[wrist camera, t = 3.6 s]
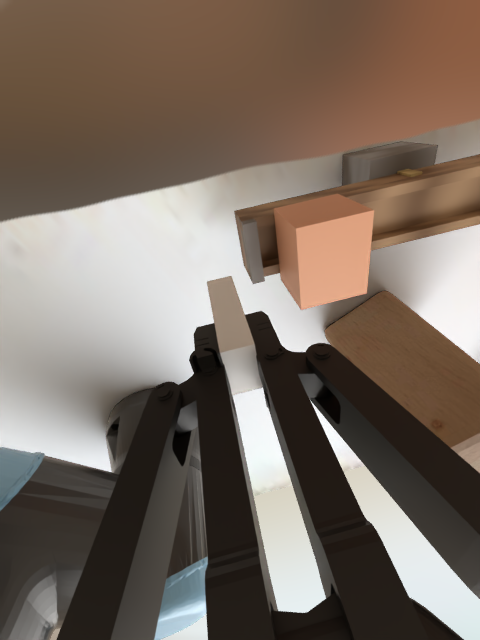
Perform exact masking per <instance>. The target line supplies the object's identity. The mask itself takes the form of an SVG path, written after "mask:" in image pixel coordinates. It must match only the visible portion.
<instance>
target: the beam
mask: <svg viewBox="0 0 480 640" xmlns="http://www.w3.org/2000/svg"><path fill="white" fill-rule="evenodd" d="M437 147H438V145H429V144H419V143H409V142H398V143H393V144H389V145H384V146H380V147H375V148H371V149H366V150H362V151H358V152H353V153H349V154H344V155H343V169H342V186H340V187H336V188H332V189H327V190H323V191H319V192H314V193H310V194H306V195H301V196H297V197H293V198H288V199H284V200H280V201H275V202H271V203H267V204H262V205H258V206H254V207H249V208H245V209H241V210H236V211H234V212H235V218H236V224H237V229H238V235H239V240H240V246H241V251H242V257H243V263H244V266H245V268H246V270H247V272H248V274H249V276H250V279H251V281H252V283H253V284H255V283H259V282H263V281H265V280H264V276H268V275H272V274H277V273H280V266H279V257H278V247H277V237H276V228H275V218H274V208H278V207H282V206H286V205H290V204H295V203H299V202H303V201H308V200H312V199H316V198H321V197H325V196H329V195H334V194H340V195H342V196H344V197H346V198H349V199H351V200H353V201H355V202H357V203H360V204H362V205H364V206H366V207H368V208H371V209H373V210H374V218H373V230H372V241H371V250H375V249H379V248H383V247H388V246H392V245H396V244H400V243H404V242H408V241H412V240H416V239H420V238H424V237H429V236H433V235H437V234H441V233H445V232H449V231H453V230H457V229H461V228H466V227H470V226H474V225H478V224H480V154H479V155H475V156H470V157H466V158H462V159H457V160H453V161H449V162H444V163H440V164H436V165H434V163H435V158H436V152H437Z"/></svg>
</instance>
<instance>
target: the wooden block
mask: <svg viewBox="0 0 480 640" xmlns="http://www.w3.org/2000/svg"><path fill="white" fill-rule="evenodd" d="M325 336H326V339H327V340H328V342H329V343H330V344H331V346H333V347H335V348H336V349H337V350H338V351H339V352H340V353H341V354H343V355H344V356H345V357H346V358H347V359H348V360H350V361H351V362H352V363H353V364H354V365H355V366H357V367H358V368H359V369H360V370H361V371H362V372H363V373H365V374H366V375H367V376H368V377H369V378H370V379H372V380H373V381H374V382H375V383H376V384H377V385H378V386H380V387H381V388H382V389H383V390H384V391H385V392H387V393H388V394H389V395H390V396H391V397H392V398H394V399H395V400H396V401H397V402H398V403H399V404H400V405H402V406H403V407H404V408H405V409H406V410H407V411H409V412H410V413H411V414H412V415H413V416H414V417H415V418H417V419H418V420H419V421H420V422H421V423H422V424H424V425H425V426H426V427H427V428H428V429H429V430H431V431H432V432H433V433H434V434H435V435H436V436H437V437H439V438H440V439H441V440H442V441H443V442H444V443H446V444H447V445H448V446H449V447H450V448H451V449H452V450H454V451H455V452H456V453H457V454H458V455H459V456H461V457H462V458H463V459H464V460H465V461H466V462H468V463H469V464H470V465H471V466H472V467H473V468H474V469H476V470H477V471H478V472H479V473H480V364H479V363H478V362H476V361H475V360H474V359H473V358H471V357H470V356H469V355H468V354H466V353H465V352H464V351H463V350H461V349H460V348H459V347H458V346H456V345H455V344H454V343H453V342H451V341H450V340H449V339H448V338H446V337H445V336H444V335H443V334H441V333H440V332H439V331H438V330H436V329H435V328H434V327H433V326H431V325H430V324H429V323H428V322H426V321H425V320H424V319H423V318H421V317H420V316H419V315H418V314H416V313H415V312H414V311H413V310H411V309H410V308H409V307H408V306H406V305H405V304H404V303H403V302H401V301H400V300H399V299H398V298H396V297H395V296H394V295H393V294H391V293H390V292H388V291H382V292H379V293H378V294H376V295H375V296H373V297H372V298H370V299H369V300H367V301H366V302H364V303H363V304H361V305H360V306H358V307H357V308H356V309H354V310H353V311H351V312H350V313H348V314H347V315H345V316H344V317H342V318H341V319H339V320H338V321H336V322H335V323H333V324H332V325H330V326H329V327H327V329H326V330H325Z"/></svg>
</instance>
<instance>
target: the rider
mask: <svg viewBox="0 0 480 640" xmlns="http://www.w3.org/2000/svg"><path fill="white" fill-rule="evenodd" d="M274 218H275V228H276V237H277V247H278V257H279V266H280V276H281V280H282V282H283V283H284V285H285V286H286V288H287V289H288V291H289V292H290V294H291V295H292V297H293V298H294V300H295V301H296V303H297V304H298V306H299V307H300V309H301V310H303V309H307V308H311V307H315V306H319V305H323V304H327V303H331V302H335V301H339V300H343V299H347V298H351V297H355V296H359V295H363V294H367V286H368V275H369V264H370V252H371V241H372V230H373V218H374V210H373V209H371V208H368V207H366V206H364V205H362V204H360V203H357V202H355V201H353V200H351V199H349V198H346V197H344V196H342V195H340V194H334V195H329V196H325V197H321V198H316V199H312V200H308V201H303V202H299V203H295V204H290V205H286V206H282V207H278V208H274Z"/></svg>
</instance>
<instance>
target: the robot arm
mask: <svg viewBox="0 0 480 640" xmlns="http://www.w3.org/2000/svg"><path fill="white" fill-rule="evenodd" d="M207 285H208V291H209V296H210V302H211V307H212V312H213V318H214V323H213V324H209V325H205V326H201V327H197V329H196V331H195V333H194V344H195V351H194V352H193V353H192V354H191V356H190V359H189V361H190V364H191V366H192V369H193V372H194V374H193V376H192V377H191V378H189V379H188V380H187V381H185V382H183V383H181V384H179V385H178V384H176V383H174V382H165V383H162V384H160V385H158V386H156V387H155V388H153V389H147V390H143V391H140V392H137V393H134V394H132V395H130V396H128V397H126V398H125V399H123V400H122V401H121V402H119V403H118V404H117V405H116V406H115V407H114V409H113V410H112V412H111V414H110V416H109V419H108V424H107V429H106V442H107V448H108V453H109V459H110V464H111V470H112V472H108V471H104V470H100V469H96V468H92V467H88V466H84V465H80V464H76V463H72V462H68V461H64V460H60V459H56V458H52V457H48V456H45V454H44V453H40V452H36V453H30V452H25V451H20V450H15V449H10V448H5V447H0V640H50V638H51V635H52V633H53V631H54V630H55V629H58V628H61V629H60V632H59V634H58V638H57V640H160V639H163V638H165V637H168V636H170V635H172V634H174V633H176V632H179V631H181V630H183V629H185V628H187V627H188V626H190V625H192V624H194V623H195V622H197V621H198V620H199V619H201V618H202V617H203V616H204V615H205V614H206V613H207V628H208V640H464V639H462V638H461V637H460V636H459V635H458V634H456V633H455V632H454V631H453V630H451V629H450V628H449V627H448V626H447V625H446V624H444V623H443V622H442V621H441V620H440V619H438V618H437V617H436V616H435V615H434V614H433V613H431V612H430V611H429V610H427V609H426V608H425V607H424V606H422V605H421V604H419V603H418V602H416V601H415V600H413V599H411V598H409V596H408V594H407V592H406V590H405V588H404V586H403V584H402V582H401V580H400V578H399V576H398V574H397V571H396V569H395V567H394V565H393V563H392V561H391V559H390V557H389V555H388V553H387V551H386V548H385V546H384V544H383V542H382V540H381V538H380V536H379V535H378V533H377V531H376V529H375V528H374V526H373V525H372V524H371V523H370V522H369V521H367V520H366V518H365V517H364V515H363V513H362V511H361V509H360V507H359V505H358V502H357V500H356V498H355V496H354V494H353V492H352V489H351V487H350V485H349V483H348V481H347V479H346V477H345V475H344V472H343V470H342V468H341V466H340V464H339V462H338V459H337V457H336V455H335V453H334V451H333V449H332V447H331V444H330V442H329V440H328V438H327V436H326V434H325V432H324V429H323V427H322V425H321V423H320V421H319V419H318V416H317V414H316V412H315V410H314V408H313V406H312V404H311V401H312V403H313V404H314V405H315V406H316V407H317V409H318V410H319V411H320V412H321V413H322V415H323V416H324V417H325V418H326V419H327V421H328V422H329V423H330V424H331V425H332V427H333V428H334V429H335V430H336V431H337V432H338V434H339V435H340V436H341V437H342V438H343V440H344V441H345V442H346V443H347V444H348V446H349V447H350V448H351V449H352V450H353V452H354V453H355V454H356V455H357V456H358V458H359V459H360V460H361V461H362V462H363V464H364V465H365V466H366V467H367V468H368V469H369V471H370V472H371V473H372V474H373V475H374V477H375V478H376V479H377V480H378V481H379V483H380V484H381V485H382V486H383V487H384V489H385V490H386V491H387V492H388V493H389V495H390V496H391V497H392V498H393V499H394V501H395V502H396V503H397V504H398V505H399V507H400V508H401V509H402V510H403V511H404V513H405V514H406V515H407V516H408V517H409V519H410V520H411V521H412V522H413V523H414V525H415V526H416V527H417V528H418V529H419V531H420V532H421V533H422V534H423V535H424V537H425V538H426V539H427V540H428V541H429V542H430V544H431V545H432V546H433V547H434V548H435V550H436V551H437V552H438V553H439V554H440V555H441V557H442V558H443V559H444V560H445V562H446V563H447V564H448V565H449V566H450V568H451V569H452V570H453V571H454V572H455V573H456V574H457V575H458V577H459V578H460V579H461V580H462V581H463V582H464V583H465V584H466V586H467V587H468V588H469V589H470V590H471V591H472V592H473V593H474V594H475V595H476V596H477V597H478V598H479V599H480V473H479V472H478V471H477V470H476V469H474V468H473V467H472V466H471V465H470V464H469V463H468V462H466V461H465V460H464V459H463V458H462V457H461V456H459V455H458V454H457V453H456V452H455V451H454V450H452V449H451V448H450V447H449V446H448V445H447V444H446V443H444V442H443V441H442V440H441V439H440V438H439V437H437V436H436V435H435V434H434V433H433V432H432V431H431V430H429V429H428V428H427V427H426V426H425V425H424V424H422V423H421V422H420V421H419V420H418V419H417V418H415V417H414V416H413V415H412V414H411V413H410V412H409V411H407V410H406V409H405V408H404V407H403V406H402V405H400V404H399V403H398V402H397V401H396V400H395V399H394V398H392V397H391V396H390V395H389V394H388V393H387V392H385V391H384V390H383V389H382V388H381V387H380V386H378V385H377V384H376V383H375V382H374V381H373V380H372V379H370V378H369V377H368V376H367V375H366V374H365V373H363V372H362V371H361V370H360V369H359V368H358V367H357V366H355V365H354V364H353V363H352V362H351V361H350V360H348V359H347V358H346V357H345V356H344V355H343V354H341V353H340V352H339V351H338V350H337V349H336V348H335V347H333V346H331V345H329V344H325V343H317V344H314V345H311V346H310V347H308V349H307V350H306V352H291V351H288V350H286V349H285V348H284V347H283V346H282V345H281V344H280V341H279V339H278V337H277V335H276V333H275V330H274V328H273V326H272V324H271V322H270V319H269V317H268V315H266V314H265V313H264V312H262V311H259V312H255V313H251V314H247V315H245V314H244V312H243V309H242V306H241V303H240V300H239V297H238V294H237V291H236V288H235V285H234V282H233V279H232V277H231V276H229V277H224V278H220V279H216V280H212V281H208V282H207ZM259 388H263V389H264V394H265V399H266V405H267V407H268V408H269V411H270V414H271V418H272V421H273V424H274V427H275V430H276V434H277V437H278V440H279V443H280V446H281V450H282V453H283V456H284V459H285V462H286V466H287V469H288V472H289V475H290V478H291V482H292V485H293V488H294V491H295V494H296V498H297V501H298V504H299V507H300V511H301V513H302V517H303V520H304V523H305V527H306V530H307V533H308V536H309V539H310V542H311V546H312V549H313V552H314V555H315V559H316V562H317V566H318V569H319V573H320V578H321V581H322V585H323V589H324V592H325V595H326V599H325V600H324V601H322V602H321V603H320V604H318V605H317V606H316V607H314V608H313V609H312V610H310V611H309V612H307V613H295V612H294V613H293V612H283V611H282V612H281V611H278V609H277V605H276V600H275V596H274V592H273V587H272V584H271V579H270V574H269V570H268V565H267V560H266V555H265V550H264V545H263V540H262V536H261V531H260V526H259V521H258V516H257V511H256V506H255V501H254V497H253V492H252V487H251V482H250V477H249V472H248V467H247V462H246V458H245V453H244V448H243V443H242V438H241V433H240V428H239V424H238V419H237V414H236V409H235V404H234V401H233V397H232V395H235V394H239V393H243V392H247V391H251V390H255V389H259ZM309 398H310V399H309ZM310 400H311V401H310Z"/></svg>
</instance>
